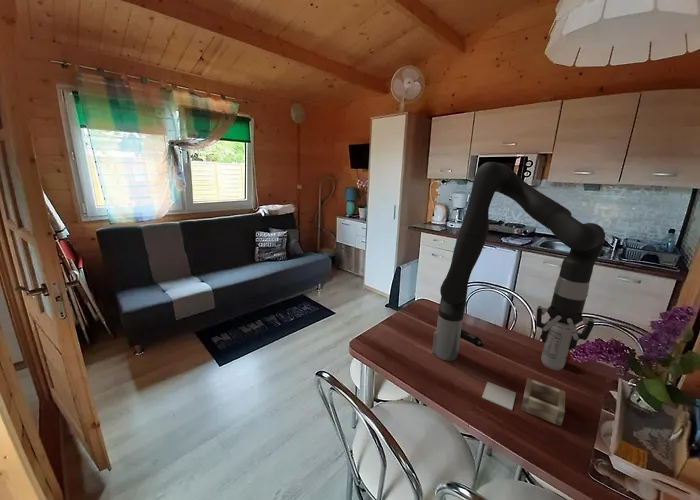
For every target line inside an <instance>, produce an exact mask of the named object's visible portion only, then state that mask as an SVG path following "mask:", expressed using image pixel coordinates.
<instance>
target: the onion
mask: <svg viewBox="0 0 700 500" xmlns="http://www.w3.org/2000/svg"><path fill="white" fill-rule="evenodd" d="M570 360H571V354H570V351H568V354H567V358H566V362H565V364H567V363H568V362H570Z"/></svg>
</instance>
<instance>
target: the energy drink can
mask: <svg viewBox="0 0 700 500" xmlns="http://www.w3.org/2000/svg"><path fill="white" fill-rule="evenodd" d="M569 326H570V325H569V324H565V323H561V322H556V323H555V324H554V325H552V326H551V327H550V328H549V329H548V333H547V337H546V341H545V342H544V343H543V349H542V354H541V356H540V361H542V364H543V365H544V366H545V367H546V368H547V369H550V370H554V371H561V370H562V369H563V368H564V367H565V365H566V363H565V362H566V358H567V354H568V351H569V347H570V343H571V340H572V334H573V333H572V331H571V329H570V327H569ZM571 326H572V325H571ZM569 352H570V351H569Z"/></svg>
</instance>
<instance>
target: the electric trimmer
mask: <svg viewBox="0 0 700 500" xmlns="http://www.w3.org/2000/svg"><path fill="white" fill-rule="evenodd" d="M461 337H463V338H464V339H466V340H467V341H468V342H471V343H473V344H474V345H475V347H480V346H482V345H483V341H482V339H481V338H480V337H478V336H475V335H473V334H472V333H469V332H467V331H465V330H463V329H461V335H460V338H461Z"/></svg>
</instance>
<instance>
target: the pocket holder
mask: <svg viewBox="0 0 700 500" xmlns="http://www.w3.org/2000/svg"><path fill="white" fill-rule="evenodd" d="M520 410H521V411H523V412H525V413H527V414H530V415H532V416H534V417H538V418H540V419H542V420H544V421H548V422H549V423H551V424H555V425H557V426H559V427H562V424H563V421H564V417H565V415H566V414H565V413H566V391H565V390H563V389H559V388H556V387H554V386H551V385H549V384H545V383H543V382H540V381H536V379H535V380H534V379H531V378H529V377H527V379H526V382H525V388H524V392H523V396H522V400H521V407H520Z"/></svg>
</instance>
